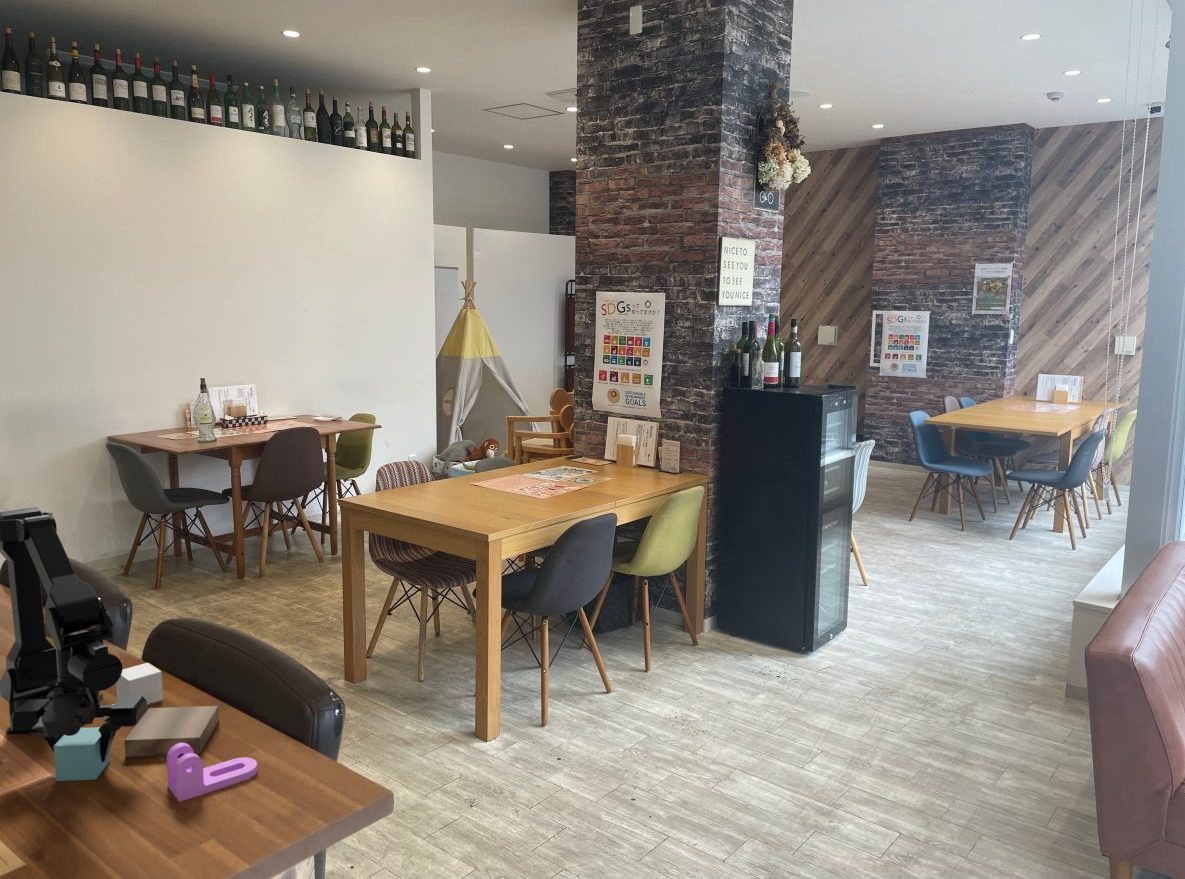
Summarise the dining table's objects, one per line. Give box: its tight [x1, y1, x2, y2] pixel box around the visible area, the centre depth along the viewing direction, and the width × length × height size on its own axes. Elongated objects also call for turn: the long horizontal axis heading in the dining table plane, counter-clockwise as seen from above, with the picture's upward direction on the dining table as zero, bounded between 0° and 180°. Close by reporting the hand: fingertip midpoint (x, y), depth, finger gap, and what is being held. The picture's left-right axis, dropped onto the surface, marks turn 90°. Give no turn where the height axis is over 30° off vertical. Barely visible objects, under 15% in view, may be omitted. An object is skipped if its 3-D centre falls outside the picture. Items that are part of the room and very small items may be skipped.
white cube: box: [115, 662, 164, 706], centre depth 170 cm, size 6×6×6 cm
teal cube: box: [53, 726, 111, 782], centre depth 145 cm, size 6×6×6 cm
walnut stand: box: [124, 705, 220, 758], centre depth 156 cm, size 12×12×3 cm
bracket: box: [166, 743, 258, 803], centre depth 143 cm, size 13×6×7 cm, turn 132°
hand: (83, 761), depth 145 cm, fingers closed on teal cube, 6 cm apart
